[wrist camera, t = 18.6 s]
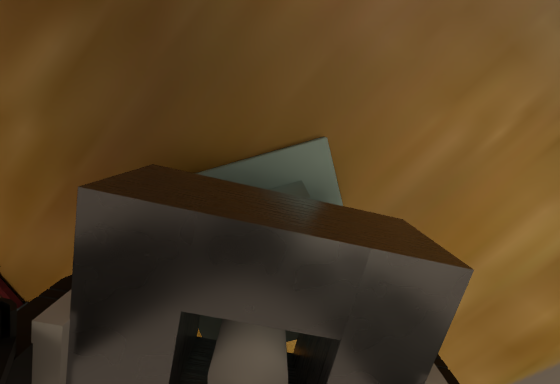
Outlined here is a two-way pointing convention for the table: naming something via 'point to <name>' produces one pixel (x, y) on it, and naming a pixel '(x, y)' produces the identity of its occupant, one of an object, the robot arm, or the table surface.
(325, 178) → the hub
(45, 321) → the robot arm
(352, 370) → the grey square frame
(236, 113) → the table surface
